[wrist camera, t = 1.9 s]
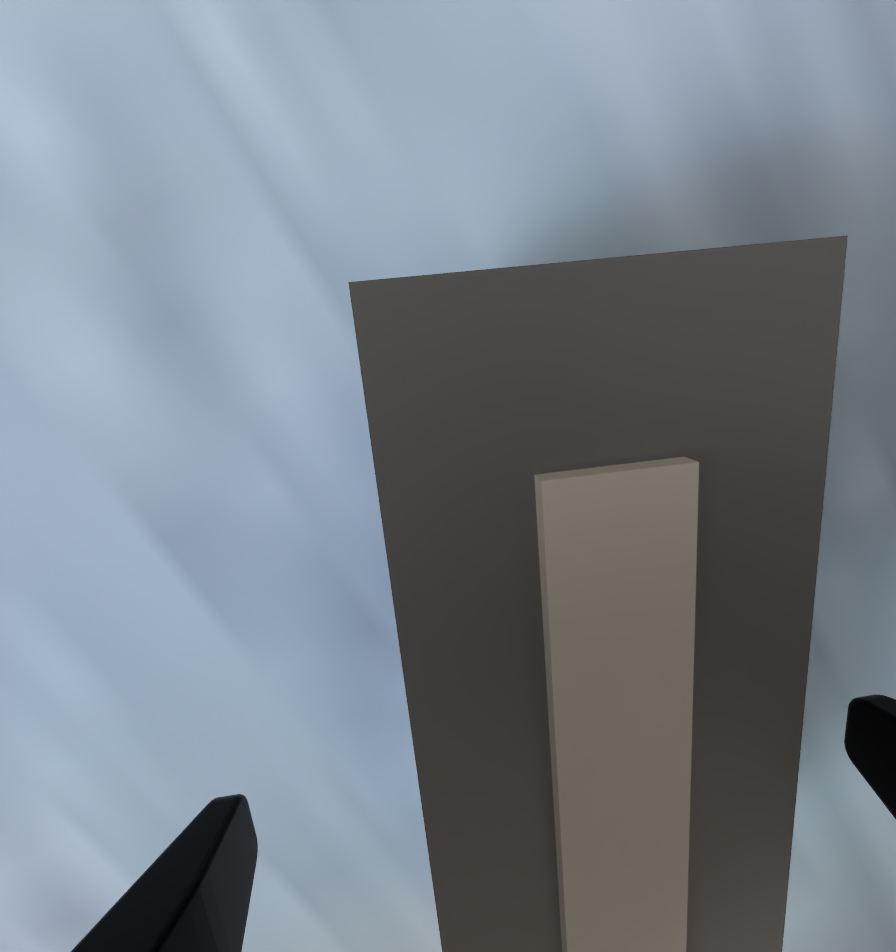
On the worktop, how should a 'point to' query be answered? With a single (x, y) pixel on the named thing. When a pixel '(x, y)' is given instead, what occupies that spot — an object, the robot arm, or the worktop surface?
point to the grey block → (606, 583)
